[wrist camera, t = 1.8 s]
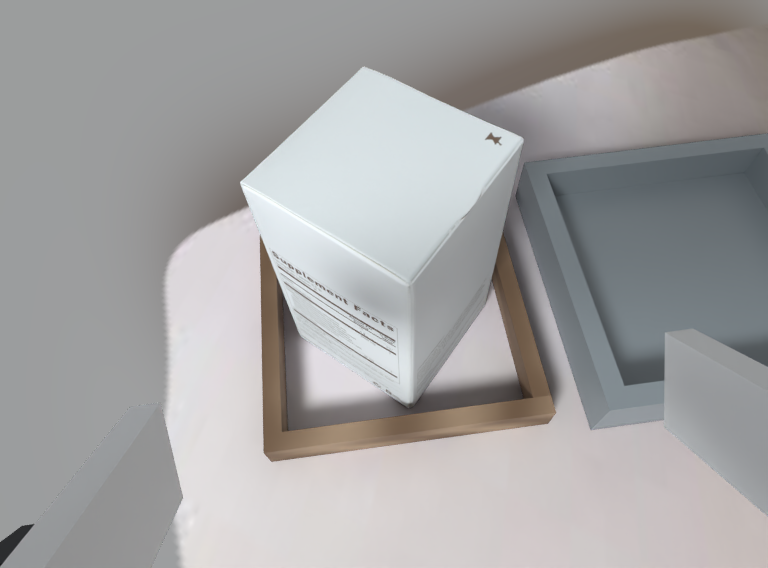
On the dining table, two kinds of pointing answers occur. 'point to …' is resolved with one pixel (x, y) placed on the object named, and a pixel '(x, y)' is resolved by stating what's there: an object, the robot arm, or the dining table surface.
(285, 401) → the walnut collar
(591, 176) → the grey tray
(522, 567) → the dining table surface
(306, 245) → the supplement box
